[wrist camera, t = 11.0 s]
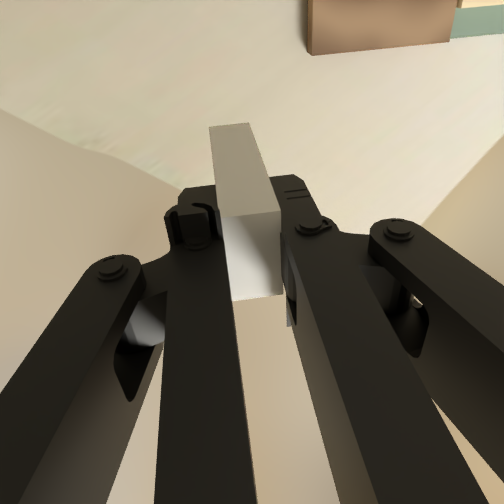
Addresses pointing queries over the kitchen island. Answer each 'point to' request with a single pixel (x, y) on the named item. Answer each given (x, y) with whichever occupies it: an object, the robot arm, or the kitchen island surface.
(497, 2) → the maple tile
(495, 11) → the rubber mat
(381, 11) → the walnut deck
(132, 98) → the kitchen island surface
